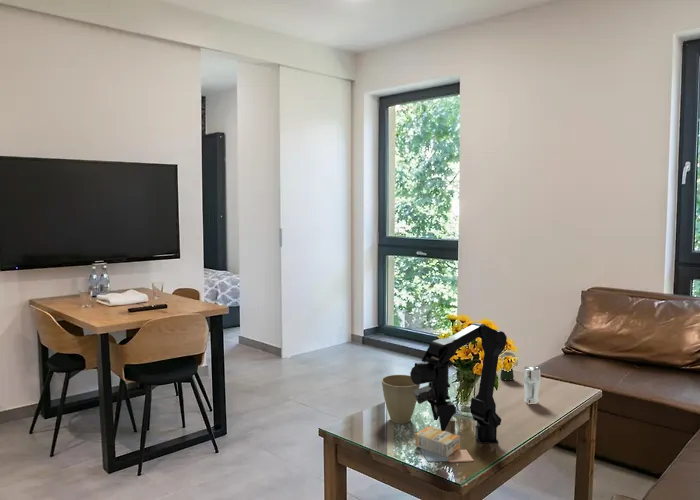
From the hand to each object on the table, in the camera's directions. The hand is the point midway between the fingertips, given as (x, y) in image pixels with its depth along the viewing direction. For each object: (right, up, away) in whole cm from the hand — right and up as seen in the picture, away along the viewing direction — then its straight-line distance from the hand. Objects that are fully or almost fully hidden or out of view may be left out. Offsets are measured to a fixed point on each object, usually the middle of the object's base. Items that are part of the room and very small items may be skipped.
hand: (439, 425), depth 182 cm
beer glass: (+47, -7, +50) cm, 69 cm away
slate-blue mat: (0, -10, +1) cm, 10 cm away
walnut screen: (+5, -9, +13) cm, 17 cm away
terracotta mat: (+6, -10, -1) cm, 12 cm away
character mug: (+46, -5, +82) cm, 95 cm away
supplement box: (-5, -6, +9) cm, 12 cm away
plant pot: (-10, -8, +31) cm, 33 cm away
